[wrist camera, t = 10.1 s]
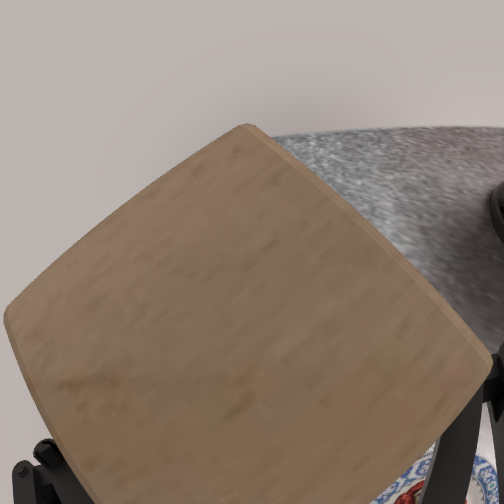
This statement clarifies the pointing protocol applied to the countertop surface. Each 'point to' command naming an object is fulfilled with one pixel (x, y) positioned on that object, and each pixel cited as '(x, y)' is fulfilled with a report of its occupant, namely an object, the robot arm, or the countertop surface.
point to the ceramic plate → (411, 482)
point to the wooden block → (241, 342)
